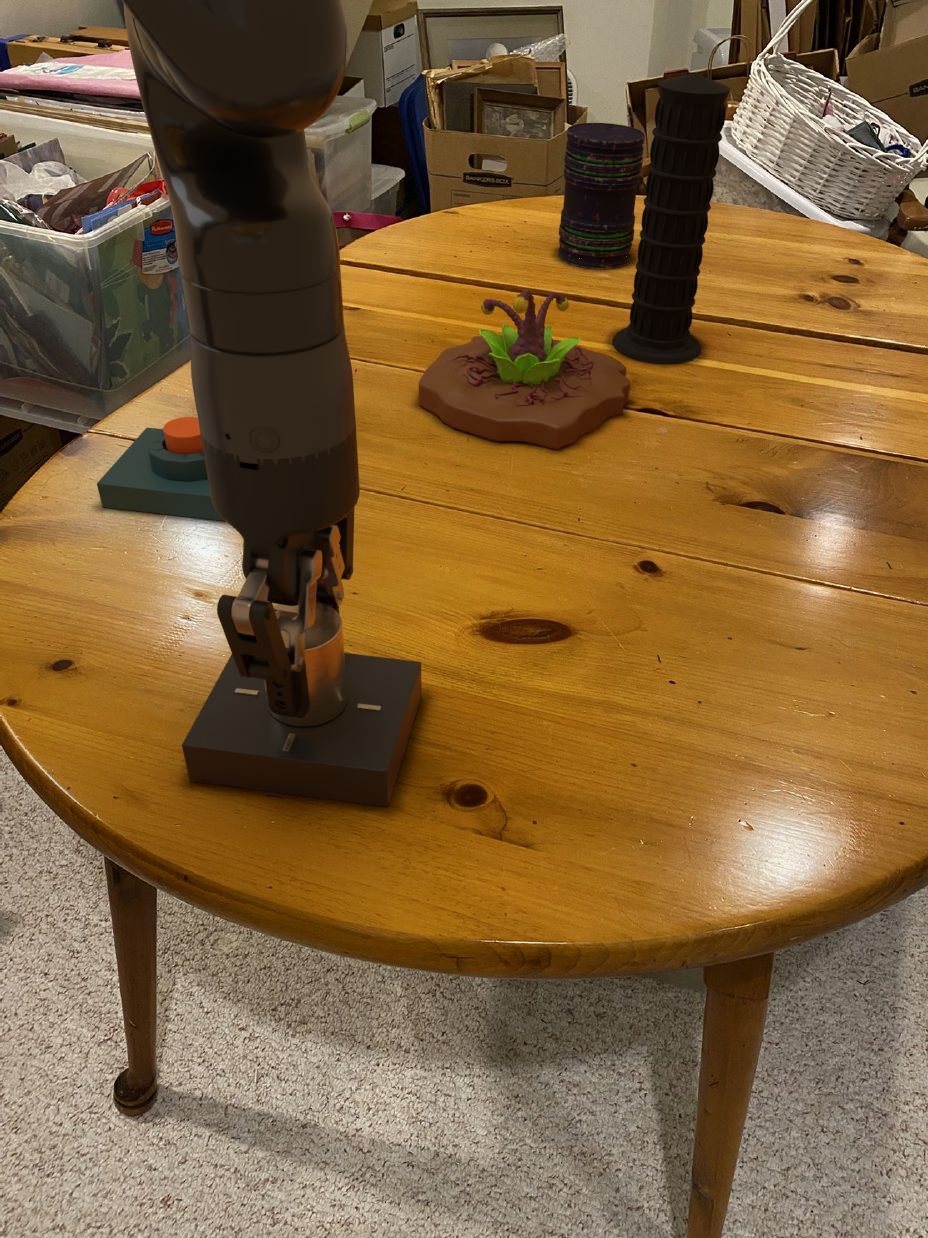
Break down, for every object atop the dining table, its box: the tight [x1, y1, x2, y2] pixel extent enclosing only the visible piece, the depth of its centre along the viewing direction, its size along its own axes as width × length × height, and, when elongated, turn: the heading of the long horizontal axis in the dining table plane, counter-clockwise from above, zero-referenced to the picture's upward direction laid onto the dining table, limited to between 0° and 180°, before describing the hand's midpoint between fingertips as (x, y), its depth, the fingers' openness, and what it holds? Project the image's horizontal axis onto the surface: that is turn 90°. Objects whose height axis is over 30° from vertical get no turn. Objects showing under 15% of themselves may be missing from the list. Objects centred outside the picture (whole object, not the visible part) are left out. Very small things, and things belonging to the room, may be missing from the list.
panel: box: [181, 652, 422, 808], centre depth 63 cm, size 12×10×3 cm
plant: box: [418, 289, 631, 450], centre depth 98 cm, size 20×20×11 cm
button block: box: [96, 427, 226, 522], centre depth 85 cm, size 12×10×4 cm
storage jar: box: [557, 122, 646, 270], centre depth 131 cm, size 10×10×15 cm
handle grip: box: [611, 73, 731, 365], centre depth 105 cm, size 10×26×10 cm
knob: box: [264, 597, 348, 727], centre depth 60 cm, size 5×5×6 cm
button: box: [162, 416, 203, 455], centre depth 83 cm, size 4×4×2 cm
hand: (307, 681), depth 61 cm, fingers closed on knob, 5 cm apart
